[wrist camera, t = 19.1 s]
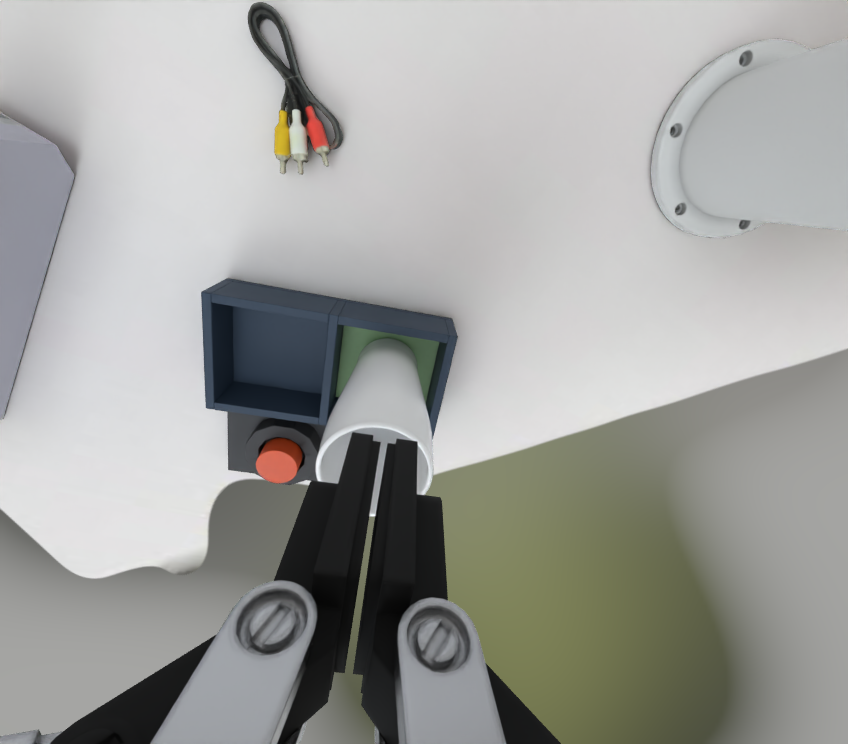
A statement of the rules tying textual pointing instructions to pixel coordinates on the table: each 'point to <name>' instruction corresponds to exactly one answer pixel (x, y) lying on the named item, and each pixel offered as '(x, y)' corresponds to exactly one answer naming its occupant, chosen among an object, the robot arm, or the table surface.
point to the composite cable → (293, 99)
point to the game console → (25, 234)
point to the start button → (279, 460)
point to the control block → (256, 431)
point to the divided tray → (306, 349)
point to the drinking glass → (379, 413)
